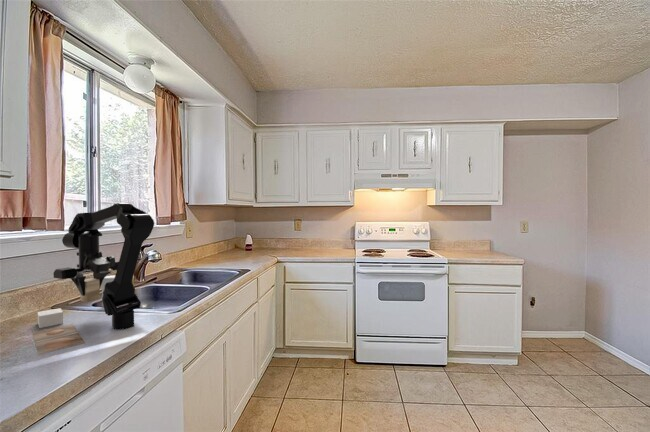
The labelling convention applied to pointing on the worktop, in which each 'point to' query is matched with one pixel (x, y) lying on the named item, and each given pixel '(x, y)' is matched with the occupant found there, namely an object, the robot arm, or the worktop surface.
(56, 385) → the worktop surface
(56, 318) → the block
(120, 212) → the robot arm
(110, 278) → the skincare box
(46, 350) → the board
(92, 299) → the tan rectangular block
